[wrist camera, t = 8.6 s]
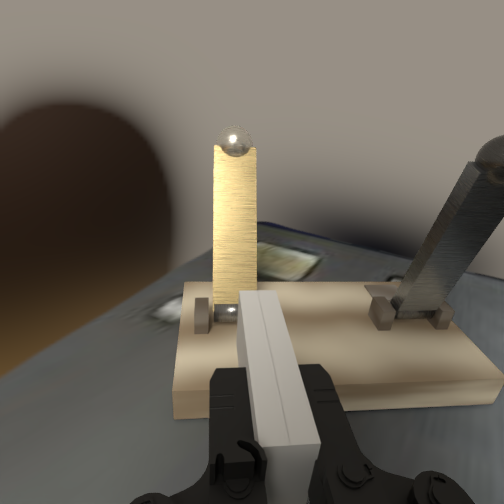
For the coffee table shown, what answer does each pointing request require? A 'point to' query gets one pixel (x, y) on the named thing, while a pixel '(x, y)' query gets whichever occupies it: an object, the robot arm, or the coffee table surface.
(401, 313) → the lever slate
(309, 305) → the console
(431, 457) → the coffee table surface
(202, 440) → the coffee table surface
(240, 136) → the lever brass
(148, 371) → the coffee table surface
